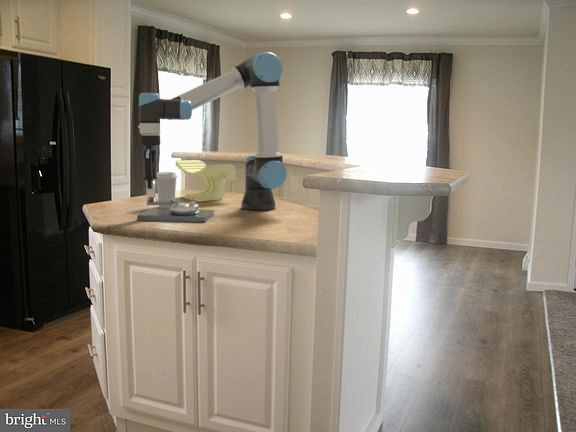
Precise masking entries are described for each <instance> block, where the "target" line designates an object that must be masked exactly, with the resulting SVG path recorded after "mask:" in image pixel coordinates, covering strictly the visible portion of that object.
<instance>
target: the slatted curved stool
mask: <svg viewBox="0 0 576 432" xmlns="http://www.w3.org/2000/svg"><path fill="white" fill-rule="evenodd" d="M175 167H178V169H179V170H180V171H181V172H183V174H187V175H192V176H197V177H198V176H201V177H202V178H203V180H204V182H205V188H204V189H203V190H202V191H199V192H196V193H195V192H194V193H188V194H187V193H186V194H185V195H184V197H183V199H186V200H190V201H195V202H206V201H207V202H209V201H217V200H219V201H221V200H222V199H223V198H224V196H225V192H226V185H227V181H236V180H237V179H236V177H237V170H236V168H235V166H234V164H232V163H231V164H230V163H227V164H226V163H225V164H223V163H220V164H206V163H205V162H204V161H202V160H200V159H187V160H185V159H184V160H183V159H182V160H175Z"/></svg>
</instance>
